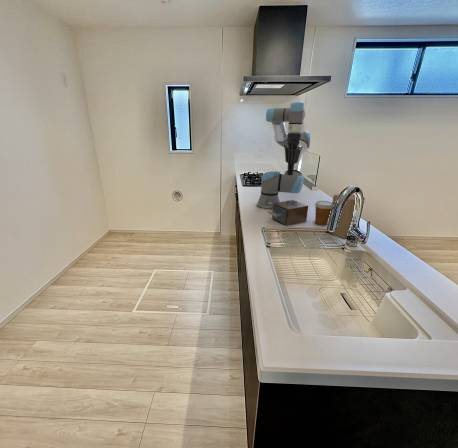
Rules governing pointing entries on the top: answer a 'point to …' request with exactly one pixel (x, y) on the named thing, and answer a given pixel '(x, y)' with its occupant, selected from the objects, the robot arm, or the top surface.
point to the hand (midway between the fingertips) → (289, 174)
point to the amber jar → (322, 212)
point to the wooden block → (344, 216)
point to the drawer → (279, 214)
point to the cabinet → (294, 211)
